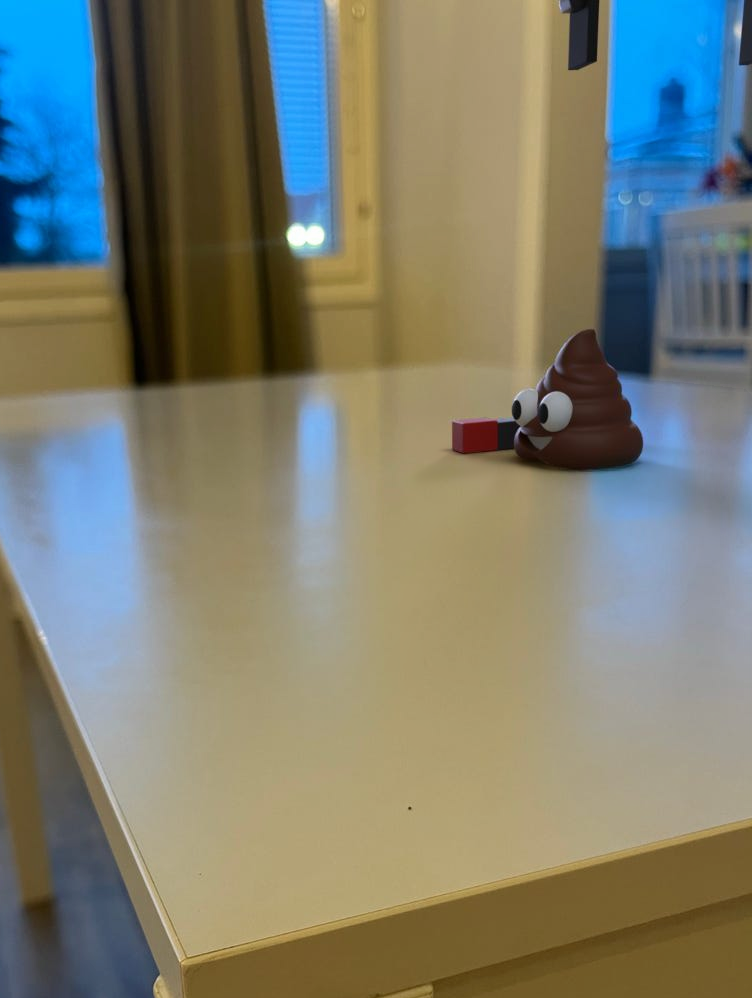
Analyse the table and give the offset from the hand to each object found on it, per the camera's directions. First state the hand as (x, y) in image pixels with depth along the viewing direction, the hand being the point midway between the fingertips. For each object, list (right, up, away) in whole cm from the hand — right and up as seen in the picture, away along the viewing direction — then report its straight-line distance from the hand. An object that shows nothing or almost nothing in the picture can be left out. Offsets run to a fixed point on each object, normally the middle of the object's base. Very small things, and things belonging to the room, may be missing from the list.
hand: (670, 64), depth 70 cm
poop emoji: (-6, -28, +3) cm, 29 cm away
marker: (-7, -25, +11) cm, 28 cm away
